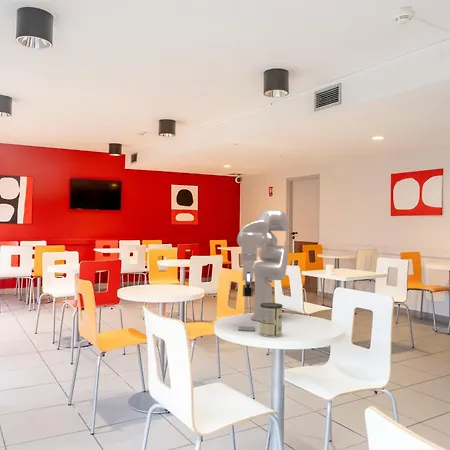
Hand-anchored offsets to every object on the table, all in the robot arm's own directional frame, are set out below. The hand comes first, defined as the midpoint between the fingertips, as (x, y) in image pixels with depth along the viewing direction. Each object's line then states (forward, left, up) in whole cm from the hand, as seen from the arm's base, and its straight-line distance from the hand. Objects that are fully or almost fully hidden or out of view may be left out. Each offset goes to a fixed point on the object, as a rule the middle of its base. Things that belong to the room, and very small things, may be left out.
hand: (247, 294), depth 218 cm
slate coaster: (0, 0, -17) cm, 17 cm away
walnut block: (0, 0, -1) cm, 1 cm away
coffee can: (+9, +11, -17) cm, 22 cm away
